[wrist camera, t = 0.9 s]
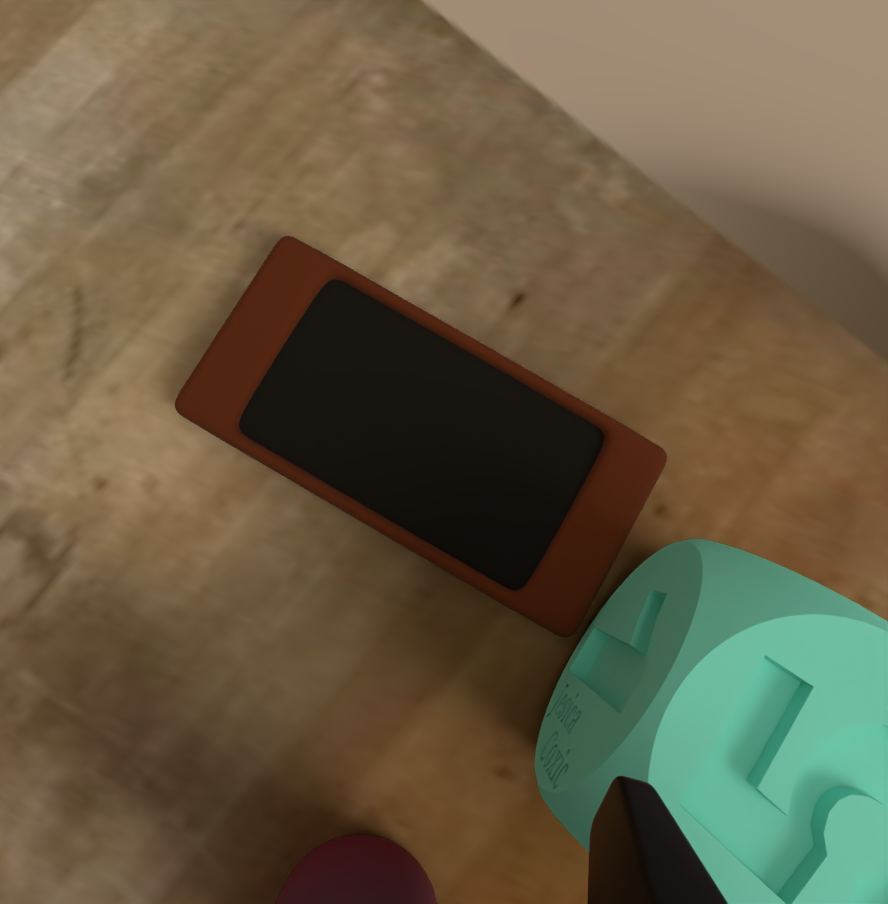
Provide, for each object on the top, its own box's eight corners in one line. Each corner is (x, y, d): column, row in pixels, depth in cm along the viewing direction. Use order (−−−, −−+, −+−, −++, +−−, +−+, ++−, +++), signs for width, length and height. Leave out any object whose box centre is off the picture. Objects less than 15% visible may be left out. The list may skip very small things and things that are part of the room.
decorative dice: (642, 535, 24) (756, 533, 16) (848, 669, 23) (1071, 737, 15) (513, 746, 23) (565, 858, 15) (726, 889, 22) (897, 1082, 14)
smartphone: (665, 454, 24) (287, 238, 25) (675, 451, 23) (282, 226, 24) (566, 640, 23) (174, 412, 24) (572, 644, 22) (165, 406, 23)
